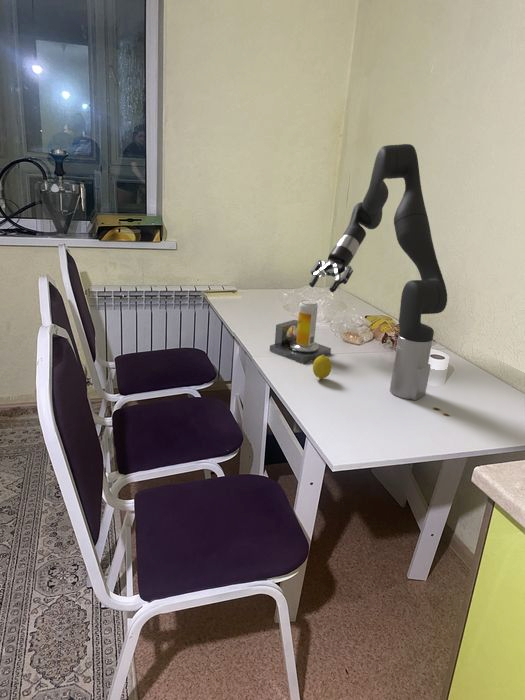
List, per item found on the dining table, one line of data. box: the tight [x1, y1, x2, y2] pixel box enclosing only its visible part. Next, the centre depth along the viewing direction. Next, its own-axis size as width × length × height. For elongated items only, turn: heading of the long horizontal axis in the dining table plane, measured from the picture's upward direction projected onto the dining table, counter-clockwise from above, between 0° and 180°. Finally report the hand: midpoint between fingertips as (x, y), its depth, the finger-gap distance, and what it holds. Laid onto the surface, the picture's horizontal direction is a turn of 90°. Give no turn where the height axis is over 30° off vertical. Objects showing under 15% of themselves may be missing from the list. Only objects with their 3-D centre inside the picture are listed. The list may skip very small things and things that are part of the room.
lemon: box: [312, 355, 332, 380], centre depth 148 cm, size 6×6×8 cm
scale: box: [269, 319, 332, 364], centre depth 169 cm, size 15×15×9 cm
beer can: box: [296, 299, 319, 347], centre depth 166 cm, size 6×6×15 cm
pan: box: [289, 340, 319, 353], centre depth 169 cm, size 10×10×1 cm
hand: (320, 288), depth 166 cm, fingers open, 8 cm apart
